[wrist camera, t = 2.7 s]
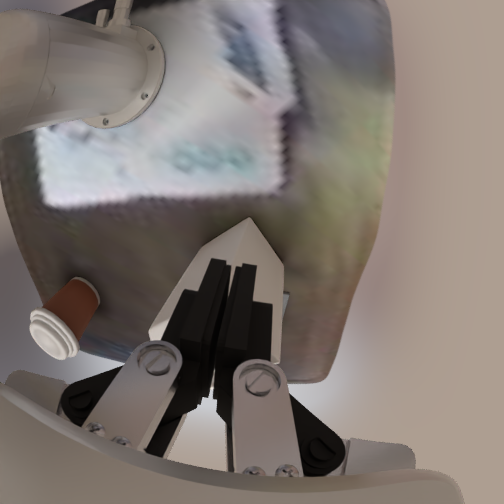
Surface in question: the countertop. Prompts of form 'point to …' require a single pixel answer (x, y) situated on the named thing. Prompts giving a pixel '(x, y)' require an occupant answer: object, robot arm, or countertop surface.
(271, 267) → the milk carton
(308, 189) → the countertop surface
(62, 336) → the coffee cup
